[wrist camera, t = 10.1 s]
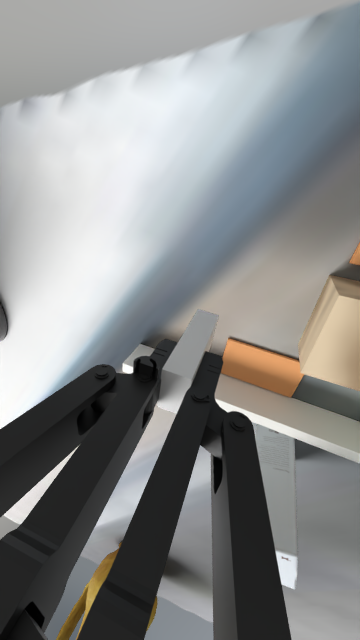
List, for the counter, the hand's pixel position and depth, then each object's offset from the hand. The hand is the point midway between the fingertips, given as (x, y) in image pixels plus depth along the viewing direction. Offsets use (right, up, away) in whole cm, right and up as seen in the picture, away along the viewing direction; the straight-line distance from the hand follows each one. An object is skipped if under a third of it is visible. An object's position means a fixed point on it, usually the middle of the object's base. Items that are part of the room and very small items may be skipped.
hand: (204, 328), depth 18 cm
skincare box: (+10, -14, +13) cm, 22 cm away
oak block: (+13, 0, +3) cm, 14 cm away
